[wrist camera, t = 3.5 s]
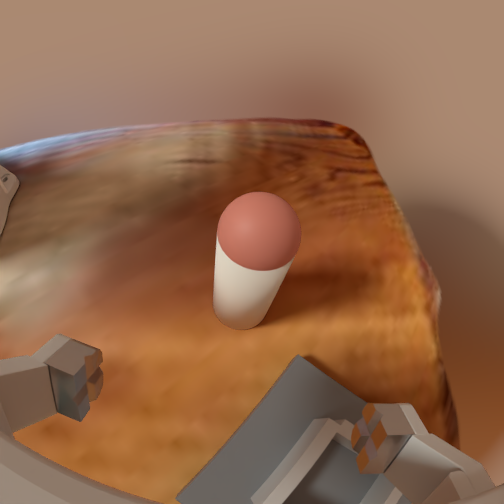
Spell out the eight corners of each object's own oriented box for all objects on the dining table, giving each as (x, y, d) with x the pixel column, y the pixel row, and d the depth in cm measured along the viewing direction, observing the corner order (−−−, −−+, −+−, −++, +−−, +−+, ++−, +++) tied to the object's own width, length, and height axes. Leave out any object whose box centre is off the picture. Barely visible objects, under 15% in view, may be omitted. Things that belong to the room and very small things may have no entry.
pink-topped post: (201, 306, 24) (199, 209, 14) (236, 269, 26) (257, 162, 16) (244, 340, 23) (277, 265, 13) (277, 301, 25) (327, 207, 15)
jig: (177, 494, 16) (170, 510, 13) (293, 358, 23) (310, 344, 19) (341, 577, 13) (364, 596, 9) (430, 450, 19) (464, 448, 16)
